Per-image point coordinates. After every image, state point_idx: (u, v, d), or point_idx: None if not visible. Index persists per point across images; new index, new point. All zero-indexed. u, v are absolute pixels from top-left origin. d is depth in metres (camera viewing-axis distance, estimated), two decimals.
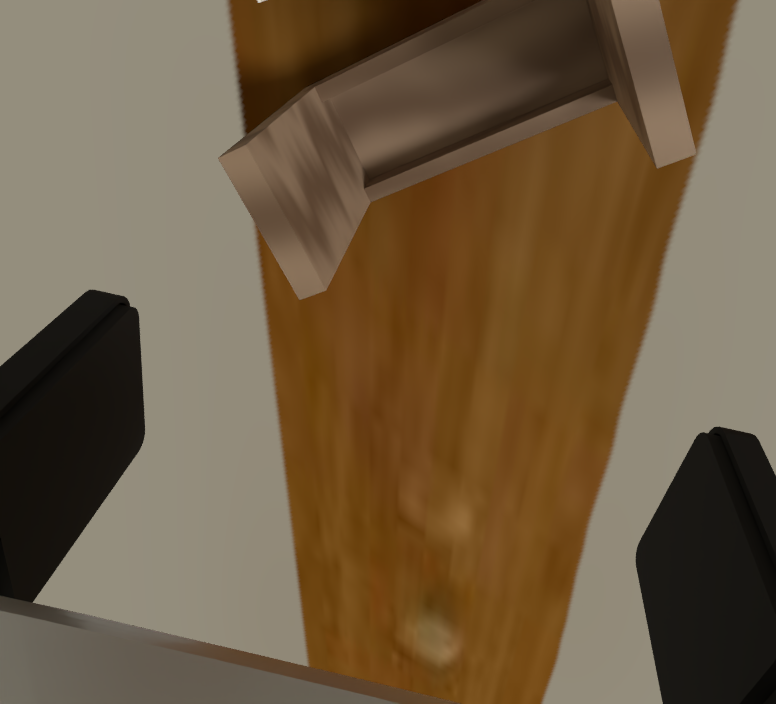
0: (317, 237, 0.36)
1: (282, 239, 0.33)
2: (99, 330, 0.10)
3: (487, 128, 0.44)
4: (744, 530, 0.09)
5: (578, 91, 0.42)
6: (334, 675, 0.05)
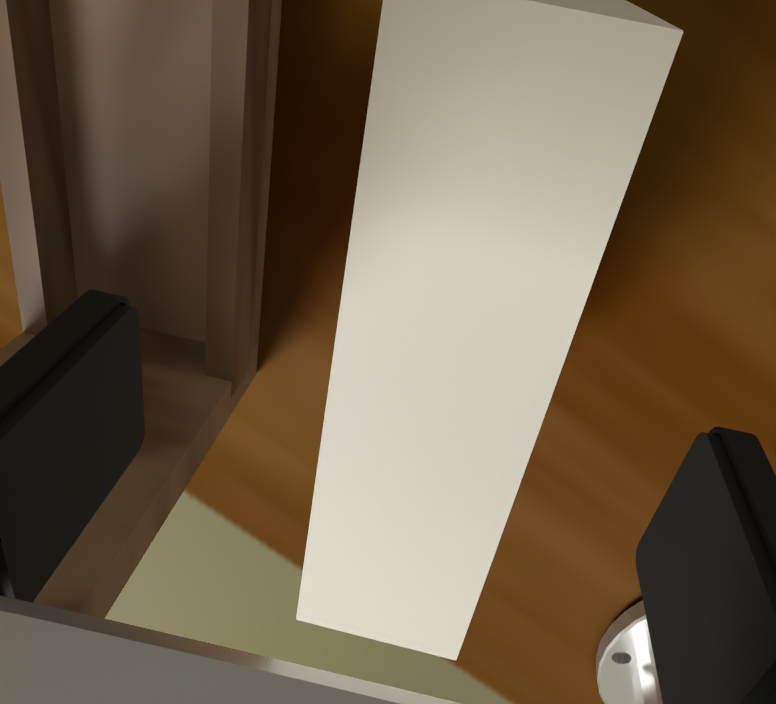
0: None
1: None
2: (99, 330, 0.10)
3: (61, 112, 0.22)
4: (744, 530, 0.09)
5: (73, 271, 0.25)
6: (335, 673, 0.05)
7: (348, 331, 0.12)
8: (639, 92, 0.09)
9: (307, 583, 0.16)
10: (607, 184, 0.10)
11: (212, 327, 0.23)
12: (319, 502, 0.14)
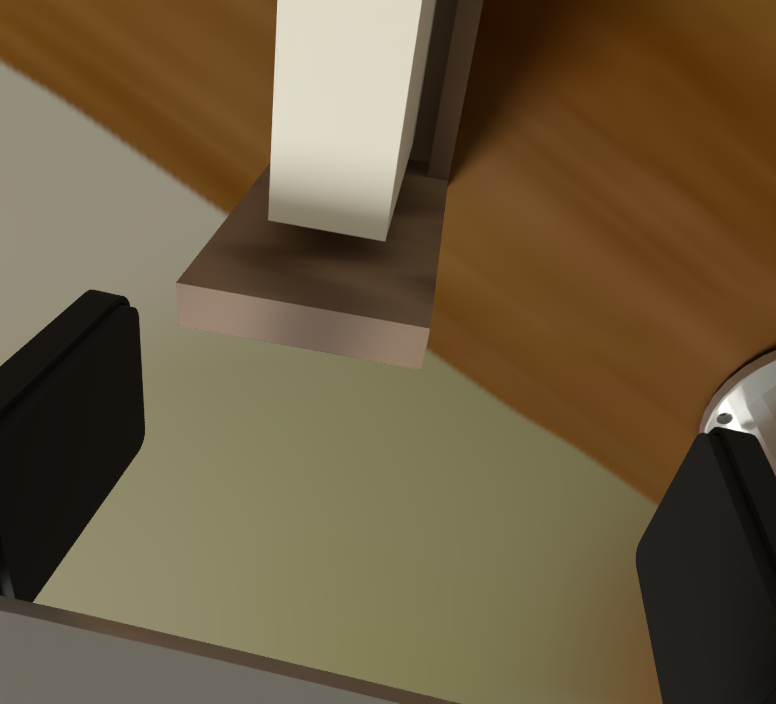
0: None
1: None
2: (99, 331, 0.10)
3: None
4: (744, 530, 0.09)
5: None
6: (334, 674, 0.05)
7: None
8: None
9: (274, 180, 0.22)
10: None
11: (440, 133, 0.30)
12: (278, 97, 0.20)
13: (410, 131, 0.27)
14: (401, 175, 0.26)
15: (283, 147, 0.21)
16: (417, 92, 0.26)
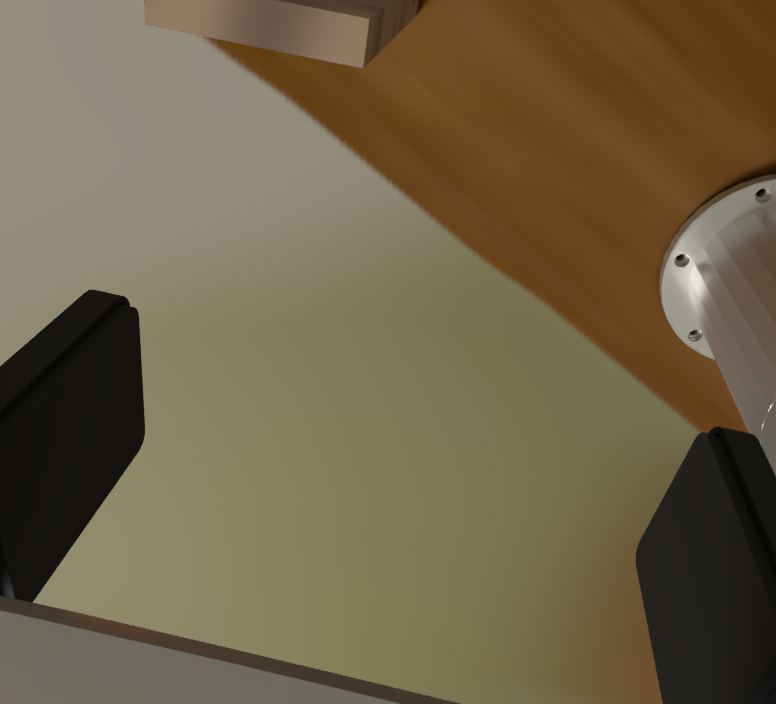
0: None
1: None
2: (99, 330, 0.10)
3: None
4: (744, 530, 0.09)
5: None
6: (334, 674, 0.05)
7: None
8: None
9: None
10: None
11: None
12: None
13: None
14: None
15: None
16: None
